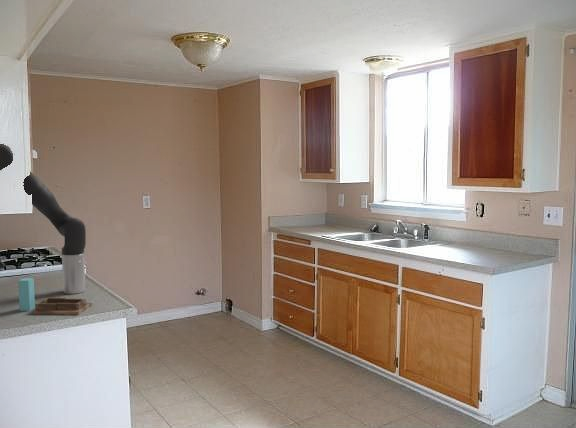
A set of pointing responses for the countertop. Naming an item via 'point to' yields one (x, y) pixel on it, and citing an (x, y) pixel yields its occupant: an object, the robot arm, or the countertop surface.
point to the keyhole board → (61, 306)
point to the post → (26, 294)
